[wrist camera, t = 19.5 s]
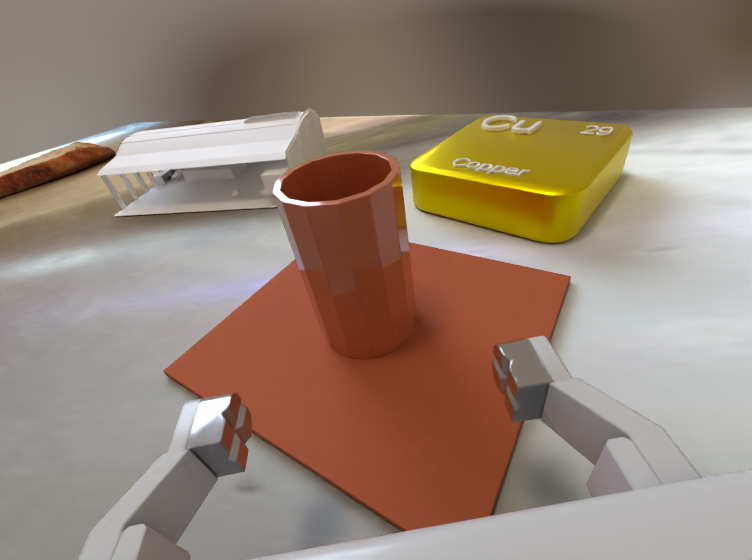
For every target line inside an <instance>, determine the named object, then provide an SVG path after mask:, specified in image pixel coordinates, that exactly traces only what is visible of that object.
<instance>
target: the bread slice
mask: <svg viewBox="0 0 752 560" xmlns="http://www.w3.org/2000/svg"><path fill="white" fill-rule="evenodd" d="M114 154H115V151H113V150H112V149H111V148H108V147H103V146H99V145H95V144H90V143H82V142H75V143H73V144H71V145H69V146H66V147H64V148H61V149H58V150H53V151H51V152H49V153H46V154H44V155H41V156H40V157H37V158H34V159H31V160H28V161H26V162H24V163H22V164H20V165H18V166H15V167H12V168H10V169H8V170H6V171H3V172H1V173H0V197H3V196H7V195H10V194H13V193H16V192H19V191H22V190H25V189H28V188H31V187H34V186H37V185H40V184H43V183H46V182H49V181H51V180H54V179H57V178H60V177H63V176H65V175H68V174H71V173H74V172H76V171H79V170H82V169H85V168H87V167H89V166H91V165H94V164H96V163H99V162H101V161H103V160H106V159H108V158H109V157H110V156H112V155H114Z"/></svg>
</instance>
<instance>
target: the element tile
mask: <svg viewBox="0 0 752 560" xmlns="http://www.w3.org/2000/svg"><path fill="white" fill-rule="evenodd" d="M632 135H633V133H632V131H631V129H630V128H629V127H628V126H627V125H622V124H610V123H595V122H581V121H566V120H551V119H537V118H522V117H514V116H510V115H499V116H484V117H482V118H480V119H478V120H476V121H474V122H472V123H471V124H469V125H468V126H466V127H464V128H463V129H461V130H460V131H458V132H456V133H455V134H453V135H452V136H450V137H449V138H447V139H445V140H444V141H442V142H441V143H439V144H437V145H436V146H434V147H433V148H431V149H429V150H428V151H426V152H425V153H423V154H421V155H420V156H418V157H417V158H415V159H414V160H413V161H412V163H411V164H410V169H411V180H412V190H413V201H414V204H415V206H416V207H417V208H419V209H421V210H423V211H426V212H429V213H433V214H437V215H440V216H444V217H448V218H452V219H456V220H459V221H463V222H467V223H471V224H474V225H478V226H482V227H486V228H490V229H493V230H497V231H501V232H505V233H508V234H512V235H516V236H520V237H523V238H527V239H531V240H535V241H539V242H545V243H558V242H564V241H567V240H569V239H571V238H573V237H574V236H575V235H577V233H578V232H579V231H580V230H581V228H582V227H583V226H584V224H585V223H586V222H587V220H588V219H589V218H590V216H591V215H592V214H593V212H594V211H595V210H596V208H597V207H598V206H599V204H600V203H601V202H602V200H603V199H604V198H605V196H606V195H607V194H608V192H609V191H610V190H611V188H612V187H613V186H614V184H615V183H616V182H617V180H618V179H619V178H620V176H621V174H622V171H623V167H624V164H625V160H626V157H627V153H628V150H629V146H630V143H631V139H632Z"/></svg>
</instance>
